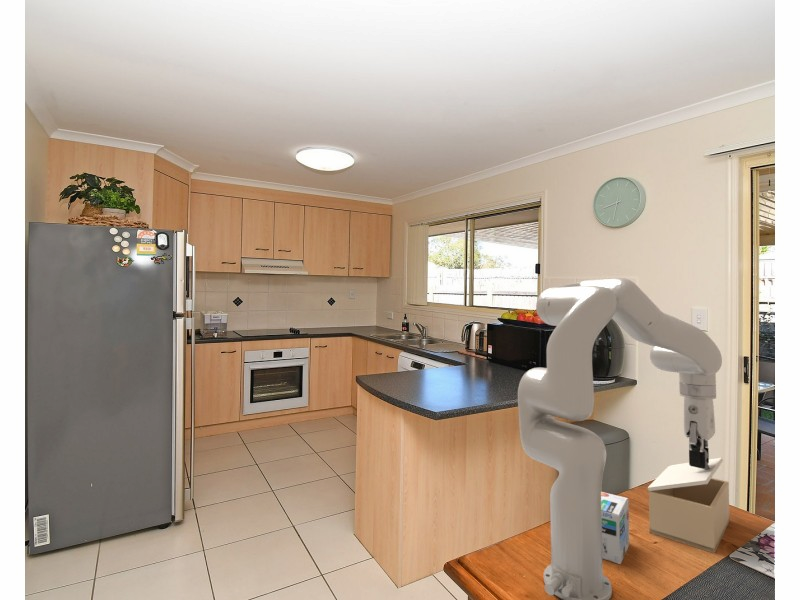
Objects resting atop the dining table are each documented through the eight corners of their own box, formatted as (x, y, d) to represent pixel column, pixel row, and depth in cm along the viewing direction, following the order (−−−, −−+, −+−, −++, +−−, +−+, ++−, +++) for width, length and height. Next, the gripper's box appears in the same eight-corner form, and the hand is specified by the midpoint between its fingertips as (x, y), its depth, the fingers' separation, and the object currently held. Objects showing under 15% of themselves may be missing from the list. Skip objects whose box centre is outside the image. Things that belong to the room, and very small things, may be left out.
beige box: (714, 553, 98) (713, 508, 98) (649, 532, 107) (648, 491, 107) (729, 521, 112) (728, 481, 112) (671, 505, 121) (670, 468, 121)
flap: (707, 483, 98) (695, 456, 100) (648, 491, 107) (637, 466, 109) (723, 460, 113) (712, 437, 114) (670, 468, 121) (660, 446, 123)
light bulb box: (621, 565, 94) (620, 515, 94) (587, 555, 98) (587, 506, 98) (630, 543, 102) (629, 497, 102) (599, 534, 106) (598, 490, 106)
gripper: (708, 397, 100) (710, 478, 99) (722, 387, 111) (723, 459, 111) (671, 393, 105) (672, 470, 105) (687, 384, 117) (689, 453, 116)
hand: (699, 464), depth 108 cm, fingers closed on flap, 3 cm apart
